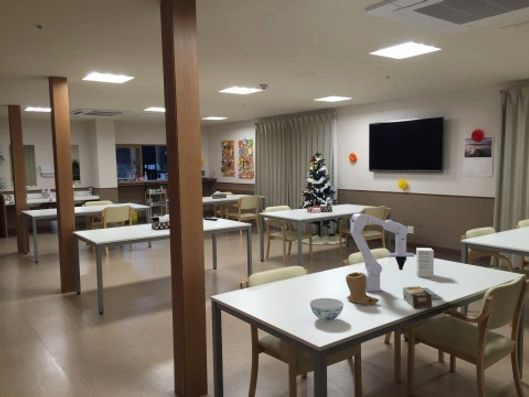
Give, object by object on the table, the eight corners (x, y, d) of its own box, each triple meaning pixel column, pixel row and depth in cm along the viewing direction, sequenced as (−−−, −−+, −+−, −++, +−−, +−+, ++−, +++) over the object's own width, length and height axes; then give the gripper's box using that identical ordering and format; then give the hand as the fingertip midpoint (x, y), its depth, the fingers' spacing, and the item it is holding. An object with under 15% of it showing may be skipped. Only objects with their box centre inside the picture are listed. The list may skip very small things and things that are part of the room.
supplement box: (433, 277, 266) (434, 250, 265) (418, 277, 268) (418, 250, 267) (431, 274, 276) (431, 247, 274) (415, 273, 277) (416, 247, 276)
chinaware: (309, 325, 190) (309, 307, 190) (310, 313, 205) (310, 297, 204) (344, 326, 188) (343, 308, 187) (343, 314, 202) (343, 298, 202)
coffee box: (419, 285, 225) (432, 294, 209) (420, 297, 225) (433, 307, 209) (402, 287, 225) (413, 296, 209) (403, 299, 225) (414, 309, 209)
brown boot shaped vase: (341, 300, 224) (340, 272, 223) (358, 296, 230) (358, 268, 229) (362, 308, 211) (362, 278, 210) (379, 304, 217) (379, 274, 216)
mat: (421, 299, 223) (421, 298, 223) (407, 289, 243) (407, 288, 243) (442, 299, 223) (442, 298, 223) (426, 288, 243) (426, 287, 243)
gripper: (390, 247, 239) (390, 271, 240) (416, 246, 240) (416, 271, 241) (386, 245, 246) (386, 268, 247) (411, 244, 247) (411, 268, 248)
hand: (400, 269), depth 245 cm, fingers closed
